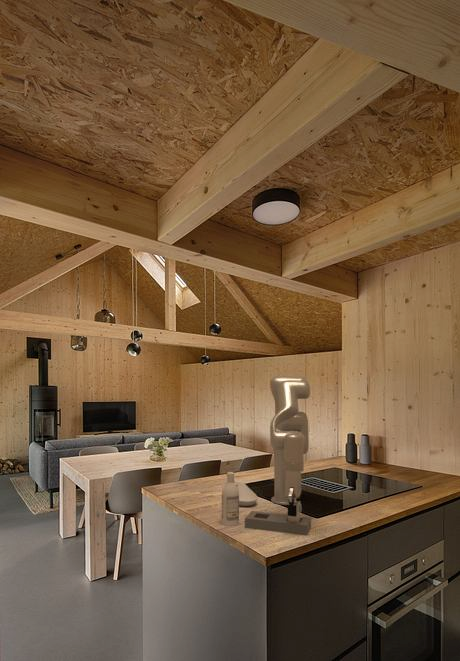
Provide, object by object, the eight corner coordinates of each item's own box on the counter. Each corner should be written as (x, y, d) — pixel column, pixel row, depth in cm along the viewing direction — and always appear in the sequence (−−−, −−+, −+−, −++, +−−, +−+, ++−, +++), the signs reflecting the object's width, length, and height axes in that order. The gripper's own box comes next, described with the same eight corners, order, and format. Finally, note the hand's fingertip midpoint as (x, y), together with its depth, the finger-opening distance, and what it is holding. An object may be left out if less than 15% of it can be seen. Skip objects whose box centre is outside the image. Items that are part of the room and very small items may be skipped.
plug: (290, 526, 162) (290, 500, 163) (302, 528, 160) (301, 501, 161) (288, 530, 158) (288, 502, 159) (300, 531, 156) (300, 504, 158)
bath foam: (242, 524, 165) (242, 472, 168) (230, 528, 160) (231, 475, 163) (229, 520, 170) (230, 470, 173) (217, 524, 165) (218, 472, 168)
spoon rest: (259, 508, 188) (259, 491, 189) (234, 509, 186) (234, 492, 187) (249, 494, 211) (249, 480, 212) (227, 495, 210) (227, 480, 210)
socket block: (251, 521, 170) (251, 510, 170) (310, 528, 162) (310, 517, 162) (244, 529, 160) (244, 517, 161) (307, 536, 153) (306, 525, 153)
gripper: (288, 461, 171) (288, 505, 169) (279, 469, 155) (280, 518, 153) (306, 463, 169) (307, 507, 167) (299, 471, 153) (300, 520, 150)
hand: (294, 512), depth 160 cm, fingers open, 9 cm apart
